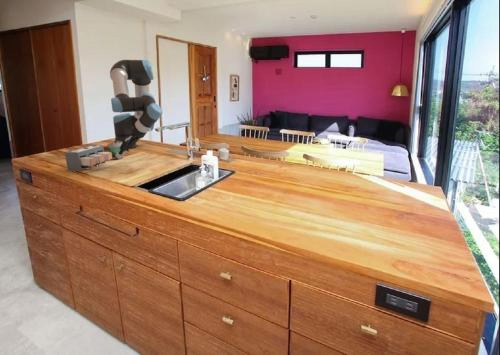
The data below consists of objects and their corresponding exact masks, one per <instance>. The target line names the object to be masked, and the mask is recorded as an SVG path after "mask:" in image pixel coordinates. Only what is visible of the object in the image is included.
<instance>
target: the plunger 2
mask: <svg viewBox="0 0 500 355" xmlns="http://www.w3.org/2000/svg"><path fill="white" fill-rule="evenodd" d="M98 155H104V160H105V161H111V160H110V159H112V153H111V152H109V151H104V152H98Z"/></svg>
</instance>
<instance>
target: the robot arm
mask: <svg viewBox="0 0 500 355" xmlns="http://www.w3.org/2000/svg"><path fill="white" fill-rule="evenodd" d="M109 76H110V77H109V78H110V79H111V81H112V86H113V92H114V93H113V94H114V97H111V99H110V100H111V110H112V112H113V113H120V114H115V115H113V117H112V118H113V129H114V135H115V136H114V141H113V143H115V142H116V141H121V142H122V144H121V146H120V151H119V152H118V153H117V154H116V157H117V158H118V159H119V160H122V159H121V157H122V158H123V157H124V155H125V154H126V153H127V152H129V151H130V150H131V149H135V148H137V147H138V146H137V142H139V140H141V139H143V138H144V137H145V136H146V135H147V133H148V132H153V130H154V129H155V128H154V127H155V124H156V123H157V122H158V120H159V119H160V118H161V116H162V114H163V113H164V112H163V109H162V107H161V106H160V105H158V103H156V102H157V101H156V99H155V97H154V95H153V94H152V93H150V86H149V85H150V84H151V83H152V80H154V73H153V68H152V63H151V61H149V60H148V59H121V60H118V61H117V62H116V63H114V64H113V65H112V67H110V71H109ZM128 81H131V82H132V83H133V85H134V94H135V96H130V94H129V87H128ZM131 113H134V114H131Z"/></svg>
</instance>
